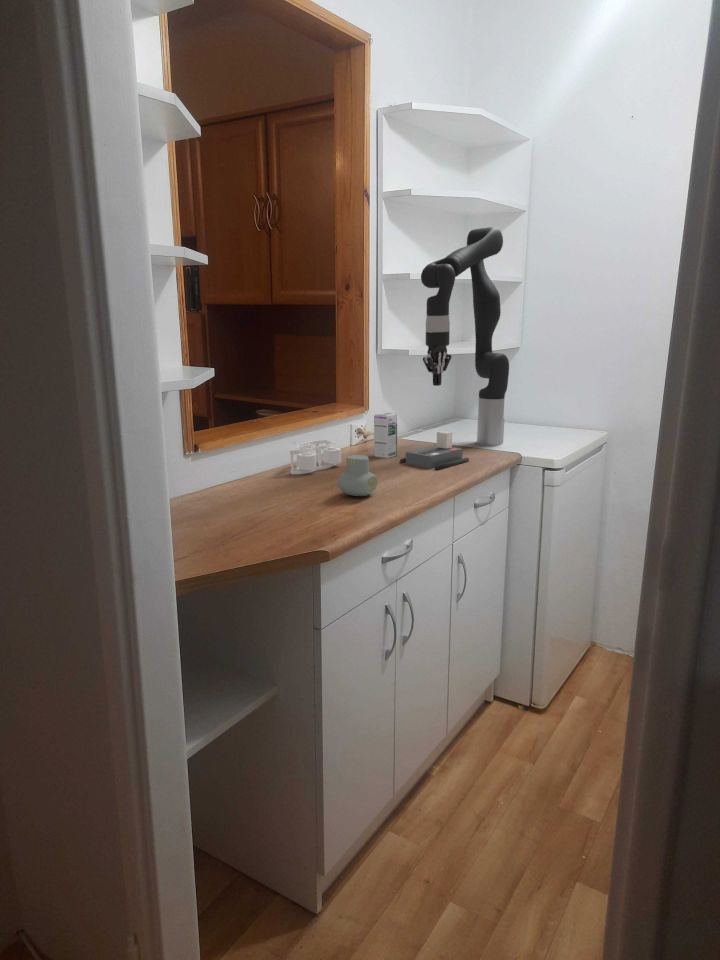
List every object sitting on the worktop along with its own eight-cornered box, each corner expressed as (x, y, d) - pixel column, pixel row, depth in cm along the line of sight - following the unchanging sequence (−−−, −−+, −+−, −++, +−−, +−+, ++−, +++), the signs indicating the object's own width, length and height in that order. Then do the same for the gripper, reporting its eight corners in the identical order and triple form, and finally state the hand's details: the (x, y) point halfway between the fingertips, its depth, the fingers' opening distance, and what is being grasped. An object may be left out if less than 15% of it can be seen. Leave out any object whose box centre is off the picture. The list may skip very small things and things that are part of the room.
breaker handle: (441, 445, 224) (442, 430, 223) (451, 447, 221) (452, 432, 220) (436, 447, 222) (436, 432, 221) (446, 448, 219) (446, 433, 218)
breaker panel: (437, 456, 228) (438, 444, 227) (462, 460, 222) (462, 448, 221) (405, 464, 216) (405, 451, 215) (430, 469, 210) (430, 456, 209)
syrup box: (387, 458, 225) (388, 415, 221) (373, 456, 228) (373, 413, 225) (397, 456, 229) (398, 413, 226) (383, 453, 233) (383, 411, 229)
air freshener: (353, 487, 188) (353, 452, 185) (380, 491, 184) (380, 454, 181) (334, 496, 178) (333, 459, 176) (361, 500, 174) (362, 462, 172)
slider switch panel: (431, 455, 230) (431, 451, 230) (469, 461, 220) (469, 457, 220) (398, 463, 218) (398, 458, 218) (437, 470, 208) (437, 466, 207)
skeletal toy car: (303, 476, 200) (303, 452, 198) (278, 471, 207) (277, 447, 205) (348, 465, 215) (348, 443, 213) (323, 460, 222) (322, 438, 220)
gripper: (440, 329, 221) (439, 382, 226) (415, 331, 212) (415, 386, 216) (459, 329, 216) (458, 384, 221) (434, 331, 207) (434, 388, 211)
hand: (437, 385), depth 218 cm, fingers closed
